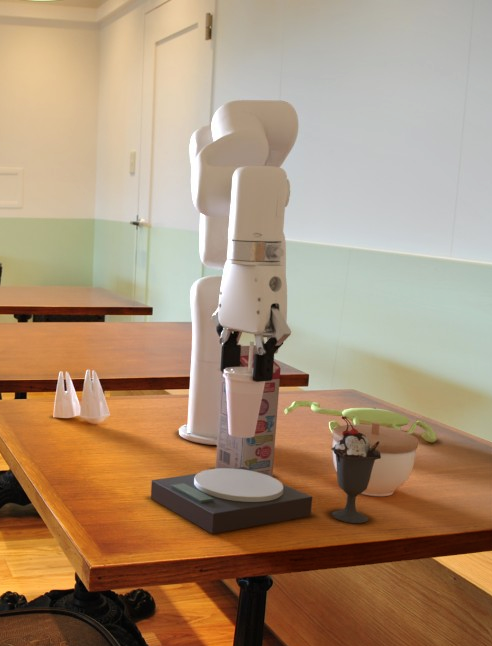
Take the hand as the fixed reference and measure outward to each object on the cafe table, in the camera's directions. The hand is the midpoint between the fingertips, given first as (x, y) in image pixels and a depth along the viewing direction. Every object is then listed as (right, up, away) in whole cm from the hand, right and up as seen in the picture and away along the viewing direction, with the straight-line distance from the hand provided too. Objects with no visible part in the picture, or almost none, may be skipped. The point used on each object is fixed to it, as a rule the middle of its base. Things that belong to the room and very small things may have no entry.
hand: (245, 374), depth 122 cm
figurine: (+35, -14, +45) cm, 58 cm away
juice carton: (+5, -18, +19) cm, 26 cm away
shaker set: (-20, -12, +51) cm, 56 cm away
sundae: (+15, -21, 0) cm, 26 cm away
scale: (-2, -20, +3) cm, 20 cm away
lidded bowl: (+23, -19, +12) cm, 33 cm away
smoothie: (0, -9, +2) cm, 9 cm away
